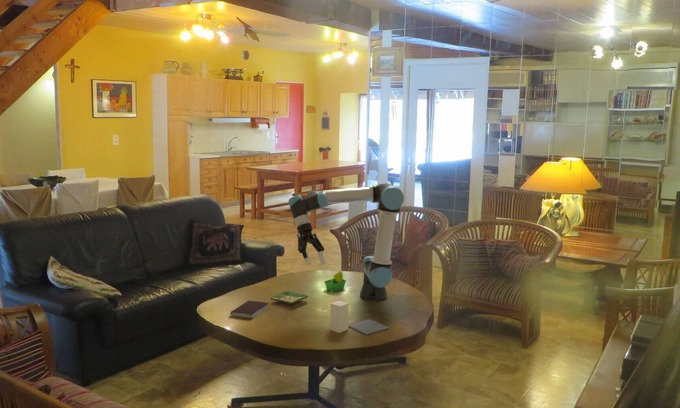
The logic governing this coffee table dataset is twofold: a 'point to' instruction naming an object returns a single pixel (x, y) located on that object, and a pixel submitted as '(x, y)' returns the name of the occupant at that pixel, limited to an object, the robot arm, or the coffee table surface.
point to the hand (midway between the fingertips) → (316, 264)
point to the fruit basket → (335, 282)
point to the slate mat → (368, 327)
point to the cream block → (339, 316)
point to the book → (250, 309)
